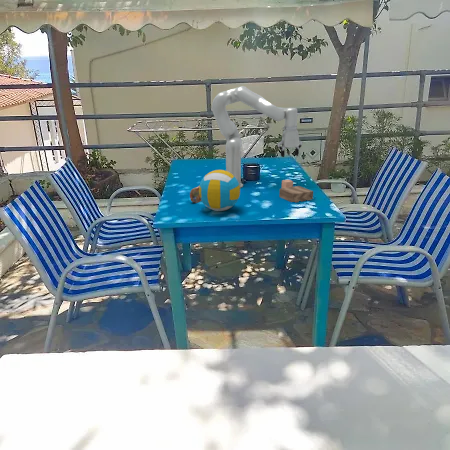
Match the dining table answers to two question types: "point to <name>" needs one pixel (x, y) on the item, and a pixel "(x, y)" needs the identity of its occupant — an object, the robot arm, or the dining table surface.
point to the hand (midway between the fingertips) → (289, 156)
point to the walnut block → (296, 194)
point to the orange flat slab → (195, 195)
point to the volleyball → (219, 190)
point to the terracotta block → (287, 183)
